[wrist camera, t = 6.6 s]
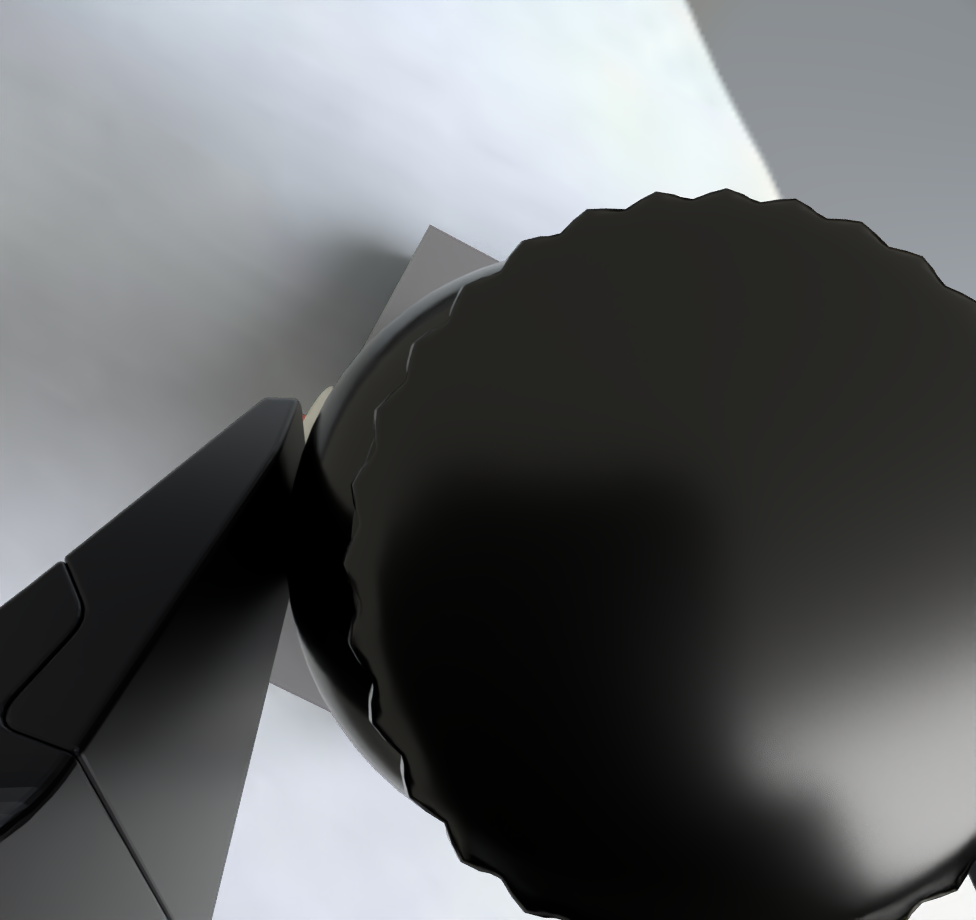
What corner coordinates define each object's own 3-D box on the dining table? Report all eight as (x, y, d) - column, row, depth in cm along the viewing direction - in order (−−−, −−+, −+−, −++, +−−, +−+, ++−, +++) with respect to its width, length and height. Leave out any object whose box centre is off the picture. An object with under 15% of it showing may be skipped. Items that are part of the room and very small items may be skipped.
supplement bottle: (292, 566, 16) (-141, 677, 4) (475, 330, 16) (600, -192, 5) (539, 749, 16) (898, 1446, 4) (707, 504, 17) (1427, 435, 5)
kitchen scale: (609, 816, 22) (650, 877, 18) (210, 621, 21) (165, 642, 17) (773, 447, 23) (843, 431, 20) (410, 255, 23) (410, 200, 19)
